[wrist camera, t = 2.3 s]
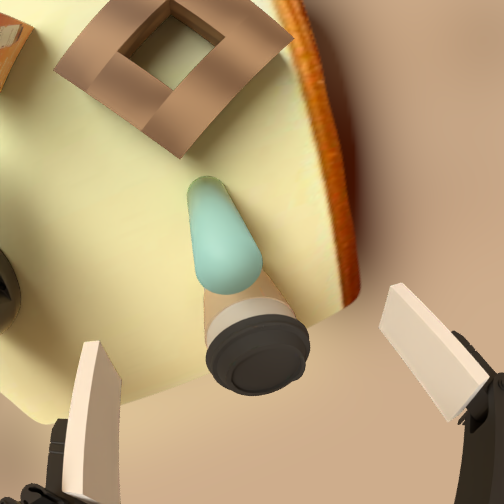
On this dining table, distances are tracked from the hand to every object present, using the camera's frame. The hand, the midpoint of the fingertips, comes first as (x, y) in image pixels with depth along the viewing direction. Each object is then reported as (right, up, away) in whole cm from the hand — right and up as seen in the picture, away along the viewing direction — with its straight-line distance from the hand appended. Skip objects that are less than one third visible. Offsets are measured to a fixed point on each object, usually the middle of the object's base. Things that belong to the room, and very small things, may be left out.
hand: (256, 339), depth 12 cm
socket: (-8, +22, +9) cm, 25 cm away
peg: (-5, +9, +17) cm, 20 cm away
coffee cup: (-3, +1, +22) cm, 23 cm away
